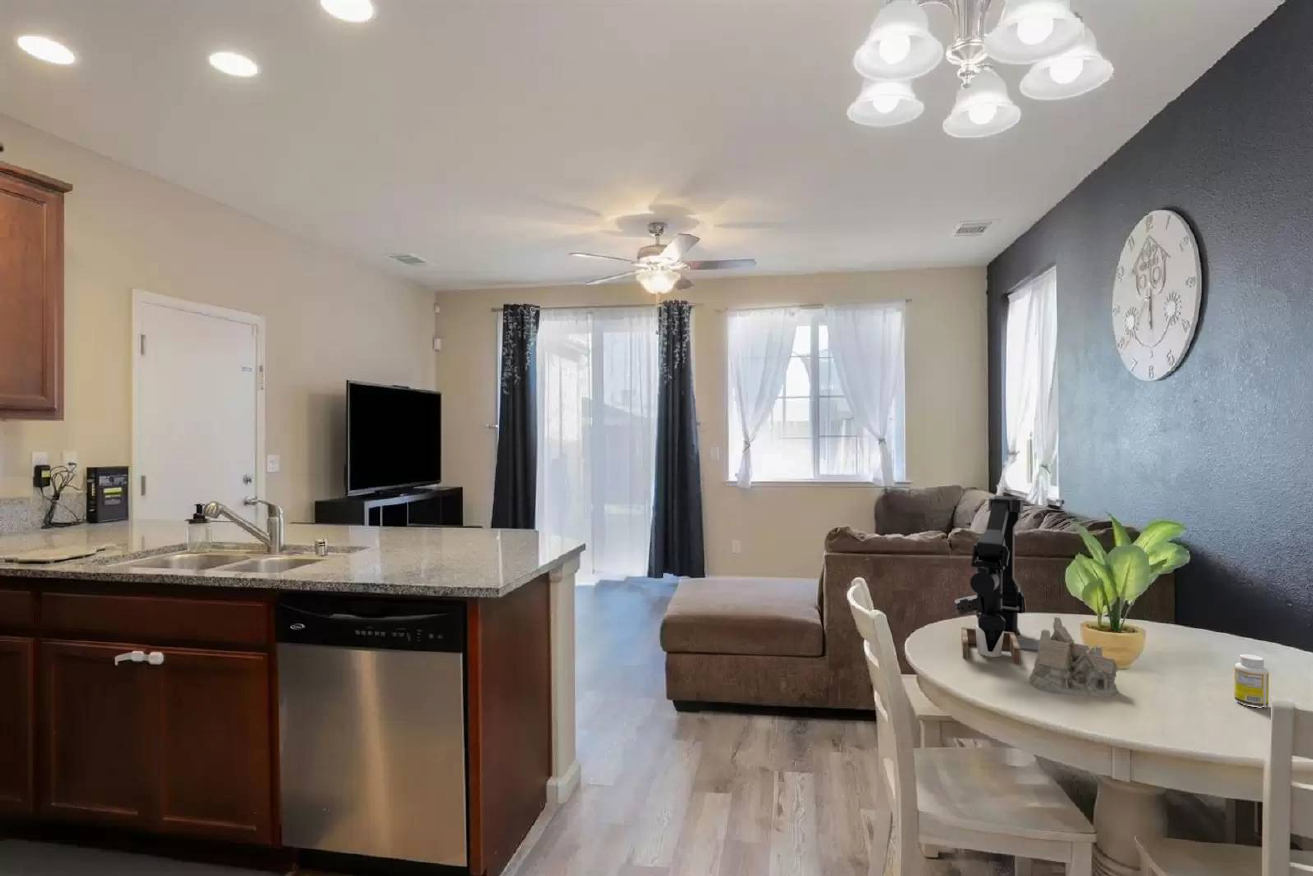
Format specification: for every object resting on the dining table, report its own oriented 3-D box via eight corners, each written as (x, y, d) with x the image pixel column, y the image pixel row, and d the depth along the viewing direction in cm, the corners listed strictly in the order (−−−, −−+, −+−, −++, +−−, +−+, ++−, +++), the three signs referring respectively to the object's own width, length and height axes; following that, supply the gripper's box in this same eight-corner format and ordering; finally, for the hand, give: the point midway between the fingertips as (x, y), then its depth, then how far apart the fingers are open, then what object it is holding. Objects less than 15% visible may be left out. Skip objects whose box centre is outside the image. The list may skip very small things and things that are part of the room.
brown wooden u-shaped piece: (961, 641, 193) (961, 627, 193) (1013, 647, 188) (1014, 632, 188) (962, 657, 179) (963, 642, 179) (1019, 664, 174) (1019, 648, 174)
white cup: (1008, 657, 179) (1009, 630, 179) (981, 657, 179) (982, 630, 179) (996, 649, 186) (996, 623, 186) (970, 649, 186) (970, 623, 186)
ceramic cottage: (1018, 682, 161) (1024, 618, 160) (1054, 672, 170) (1060, 611, 169) (1090, 709, 148) (1097, 639, 147) (1125, 696, 157) (1132, 631, 156)
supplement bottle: (1250, 699, 152) (1251, 652, 152) (1275, 709, 147) (1276, 660, 147) (1227, 699, 152) (1228, 653, 152) (1251, 710, 146) (1252, 661, 146)
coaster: (1013, 640, 195) (1013, 638, 195) (1050, 644, 191) (1050, 642, 191) (1016, 649, 186) (1016, 647, 186) (1054, 653, 183) (1054, 651, 183)
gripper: (956, 578, 194) (955, 634, 194) (957, 592, 177) (956, 653, 177) (1000, 582, 190) (999, 639, 190) (1006, 596, 173) (1005, 659, 173)
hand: (989, 647), depth 183 cm, fingers open, 7 cm apart
